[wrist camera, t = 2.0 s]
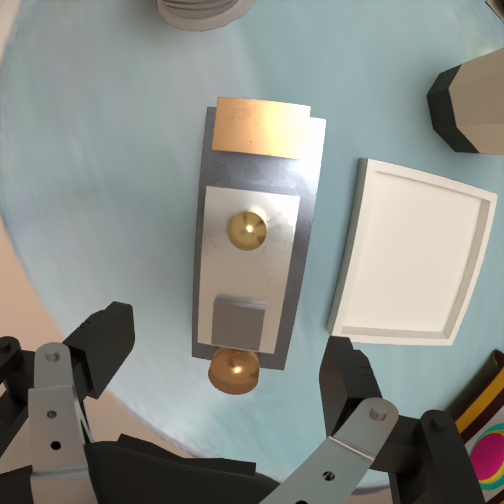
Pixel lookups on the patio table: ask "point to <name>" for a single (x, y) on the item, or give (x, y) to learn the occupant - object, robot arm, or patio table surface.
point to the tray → (409, 256)
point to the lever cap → (245, 263)
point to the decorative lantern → (486, 433)
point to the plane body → (267, 173)
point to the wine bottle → (471, 105)
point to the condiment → (497, 7)
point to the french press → (202, 13)
